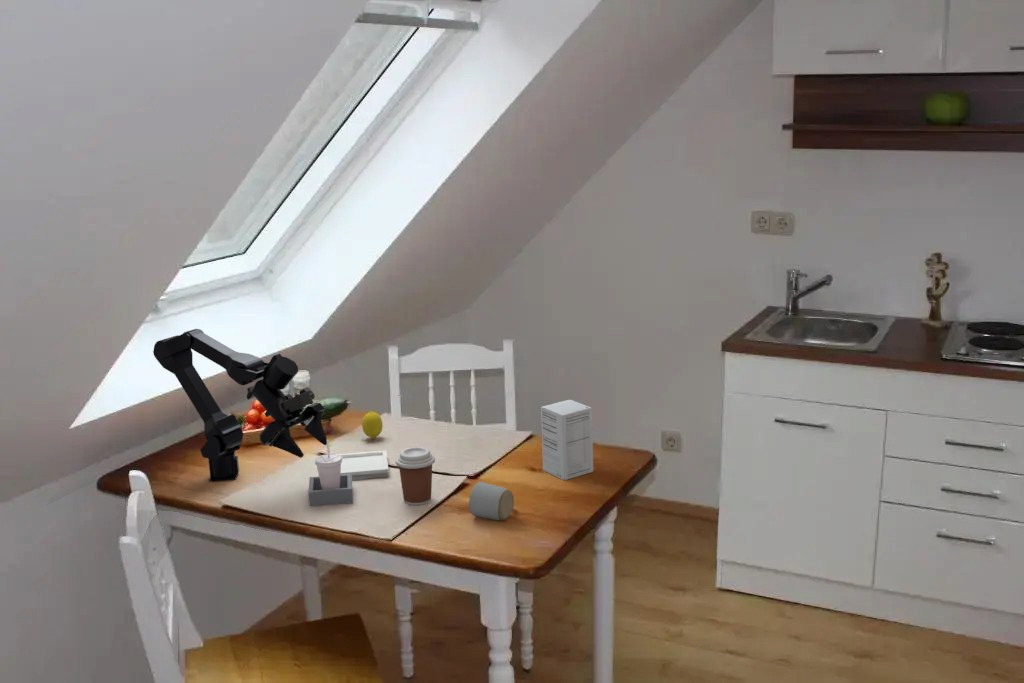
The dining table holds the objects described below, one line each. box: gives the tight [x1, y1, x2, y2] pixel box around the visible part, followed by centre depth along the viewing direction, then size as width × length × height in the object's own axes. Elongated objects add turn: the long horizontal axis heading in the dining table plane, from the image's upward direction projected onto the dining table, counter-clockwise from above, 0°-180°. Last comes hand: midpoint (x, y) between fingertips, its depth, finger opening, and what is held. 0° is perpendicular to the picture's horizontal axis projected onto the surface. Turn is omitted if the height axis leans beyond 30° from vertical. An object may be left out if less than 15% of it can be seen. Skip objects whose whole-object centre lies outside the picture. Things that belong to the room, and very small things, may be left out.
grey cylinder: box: [468, 481, 515, 521], centre depth 236 cm, size 11×8×8 cm
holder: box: [307, 474, 354, 508], centre depth 250 cm, size 10×10×4 cm
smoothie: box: [314, 439, 342, 490], centre depth 249 cm, size 6×6×14 cm
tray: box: [337, 449, 390, 481], centre depth 268 cm, size 14×14×2 cm
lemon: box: [361, 410, 383, 440], centre depth 290 cm, size 6×6×8 cm
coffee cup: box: [395, 446, 436, 507], centre depth 246 cm, size 9×9×12 cm
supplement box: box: [540, 399, 594, 481], centre depth 260 cm, size 10×9×17 cm
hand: (314, 450), depth 250 cm, fingers open, 9 cm apart
